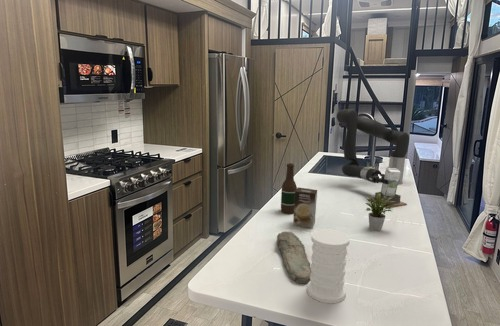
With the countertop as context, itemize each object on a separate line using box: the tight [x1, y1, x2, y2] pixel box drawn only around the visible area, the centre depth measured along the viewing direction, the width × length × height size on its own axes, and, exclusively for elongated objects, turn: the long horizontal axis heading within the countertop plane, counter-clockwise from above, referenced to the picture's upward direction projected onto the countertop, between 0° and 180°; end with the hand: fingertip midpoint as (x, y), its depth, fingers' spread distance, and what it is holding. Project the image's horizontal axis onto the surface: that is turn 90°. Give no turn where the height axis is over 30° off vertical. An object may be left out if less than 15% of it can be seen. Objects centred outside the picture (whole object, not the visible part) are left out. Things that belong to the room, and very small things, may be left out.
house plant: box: [364, 191, 398, 232], centre depth 154 cm, size 14×14×16 cm
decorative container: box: [306, 228, 350, 304], centre depth 106 cm, size 12×12×18 cm
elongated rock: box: [276, 231, 311, 285], centre depth 128 cm, size 35×5×10 cm
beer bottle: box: [280, 162, 298, 215], centre depth 172 cm, size 8×8×24 cm
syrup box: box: [380, 167, 401, 197], centre depth 188 cm, size 6×6×14 cm
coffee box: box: [292, 186, 318, 229], centre depth 157 cm, size 9×6×16 cm
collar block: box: [369, 191, 408, 209], centre depth 191 cm, size 14×14×6 cm
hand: (393, 181), depth 187 cm, fingers closed on syrup box, 7 cm apart
